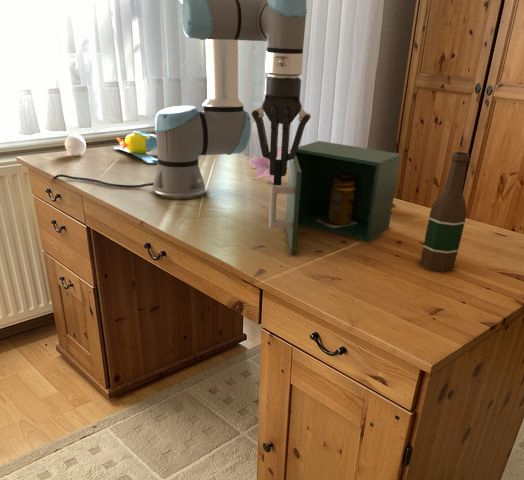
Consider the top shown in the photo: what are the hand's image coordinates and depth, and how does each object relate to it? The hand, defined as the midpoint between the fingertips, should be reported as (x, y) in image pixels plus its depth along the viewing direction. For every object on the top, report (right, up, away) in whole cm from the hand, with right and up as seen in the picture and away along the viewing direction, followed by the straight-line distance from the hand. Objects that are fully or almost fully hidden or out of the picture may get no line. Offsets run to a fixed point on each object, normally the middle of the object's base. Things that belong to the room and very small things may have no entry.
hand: (277, 189), depth 125 cm
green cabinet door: (+1, -10, +6) cm, 12 cm away
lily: (-2, +20, +55) cm, 58 cm away
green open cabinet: (+17, -4, +16) cm, 24 cm away
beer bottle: (+35, -19, -5) cm, 40 cm away
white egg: (-70, +33, +71) cm, 105 cm away
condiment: (+16, -4, +16) cm, 23 cm away
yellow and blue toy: (-49, +35, +76) cm, 97 cm away
